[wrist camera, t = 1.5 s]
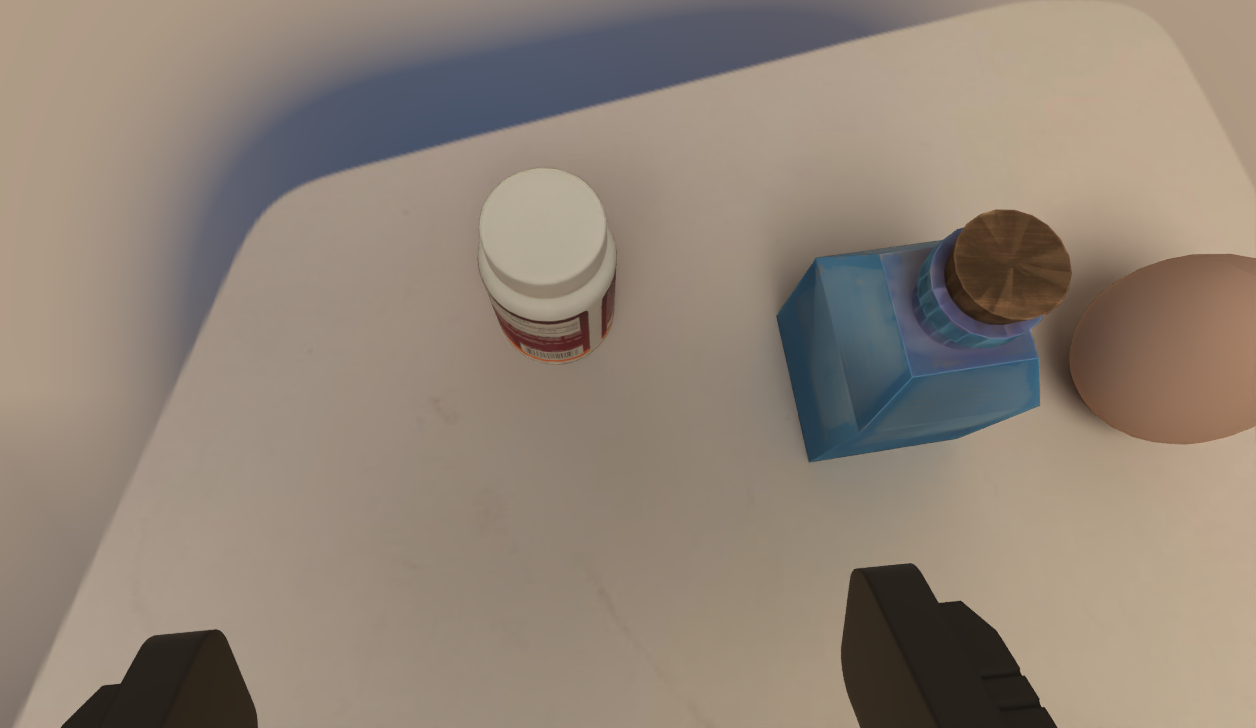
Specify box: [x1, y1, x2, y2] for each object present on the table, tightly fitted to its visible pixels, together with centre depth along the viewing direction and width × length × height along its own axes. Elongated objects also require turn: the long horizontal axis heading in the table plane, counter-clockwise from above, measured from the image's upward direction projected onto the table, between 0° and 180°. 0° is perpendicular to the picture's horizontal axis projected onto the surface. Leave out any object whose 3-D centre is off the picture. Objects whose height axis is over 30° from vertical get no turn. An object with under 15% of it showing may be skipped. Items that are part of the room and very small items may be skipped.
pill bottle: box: [478, 168, 617, 364], centre depth 29 cm, size 5×5×8 cm
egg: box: [1070, 254, 1256, 444], centre depth 29 cm, size 7×7×9 cm
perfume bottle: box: [777, 210, 1072, 462], centre depth 27 cm, size 6×6×12 cm
